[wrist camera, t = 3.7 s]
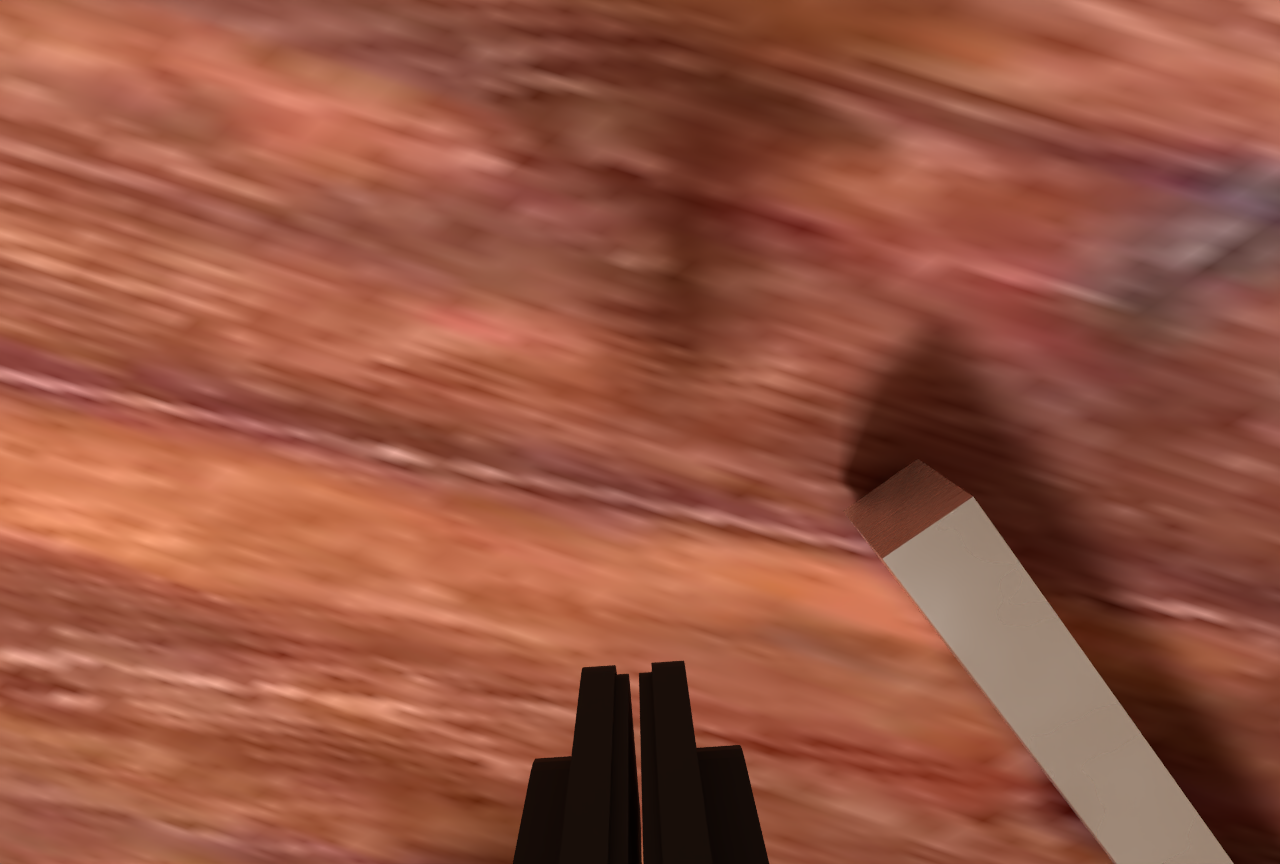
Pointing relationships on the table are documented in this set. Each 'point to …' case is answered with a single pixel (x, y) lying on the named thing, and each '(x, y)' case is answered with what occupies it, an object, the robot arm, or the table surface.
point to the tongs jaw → (1030, 668)
